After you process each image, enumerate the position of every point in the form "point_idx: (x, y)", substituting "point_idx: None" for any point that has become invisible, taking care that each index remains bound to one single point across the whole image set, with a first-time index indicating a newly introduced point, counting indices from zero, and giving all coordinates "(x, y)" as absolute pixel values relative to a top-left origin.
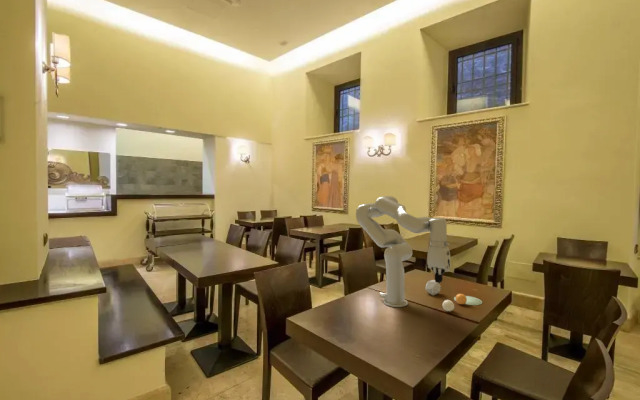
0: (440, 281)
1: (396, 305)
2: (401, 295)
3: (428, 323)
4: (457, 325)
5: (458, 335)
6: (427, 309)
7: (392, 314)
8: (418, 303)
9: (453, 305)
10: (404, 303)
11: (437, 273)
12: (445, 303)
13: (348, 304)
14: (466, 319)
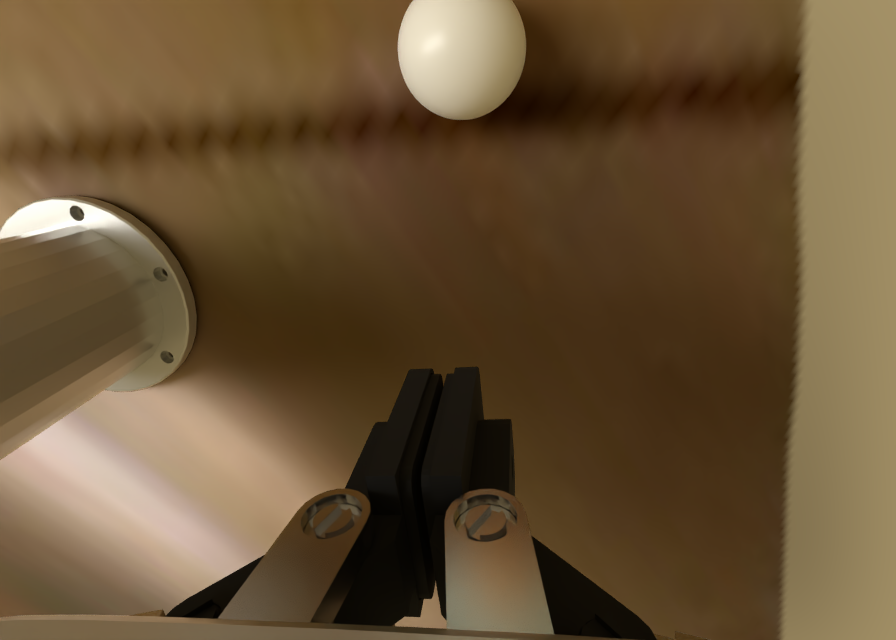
0: (481, 418)
1: (174, 368)
2: (108, 346)
3: (512, 416)
4: (683, 290)
5: (756, 428)
6: (331, 193)
7: (272, 468)
8: (183, 132)
9: (523, 38)
10: (165, 288)
11: (411, 581)
12: (457, 108)
13: (21, 535)
14: (691, 105)
